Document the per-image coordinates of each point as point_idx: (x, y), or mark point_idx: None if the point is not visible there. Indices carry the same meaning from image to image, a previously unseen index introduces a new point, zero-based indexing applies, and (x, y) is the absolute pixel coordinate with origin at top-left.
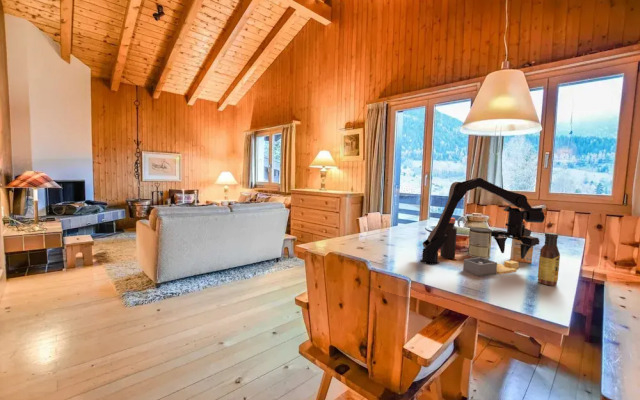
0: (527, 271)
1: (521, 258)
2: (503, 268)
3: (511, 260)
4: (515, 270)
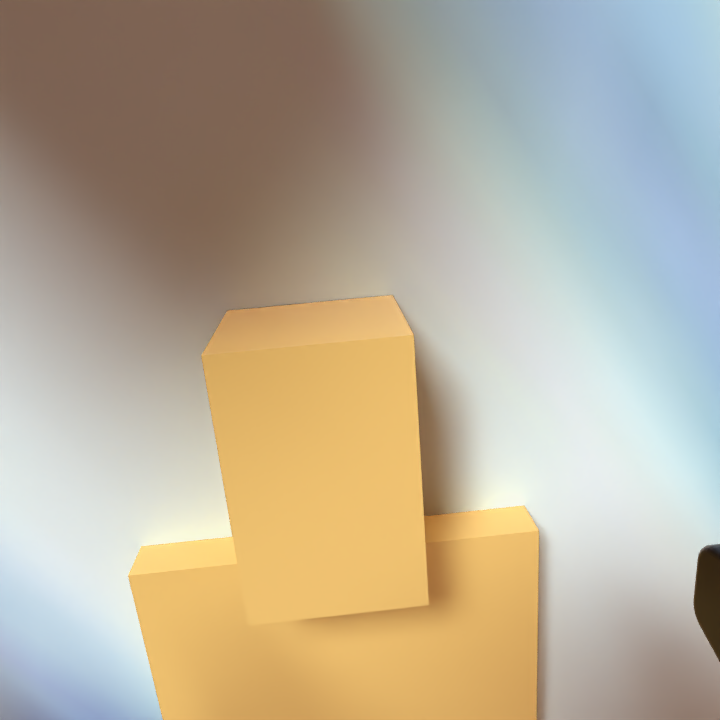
0: (603, 284)
1: (709, 622)
2: (418, 713)
3: (210, 384)
4: (532, 546)
